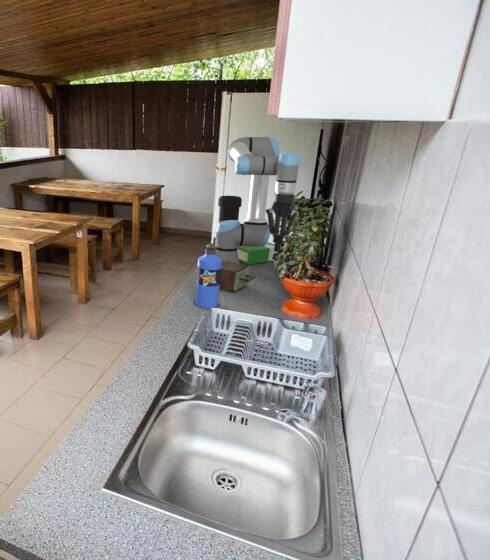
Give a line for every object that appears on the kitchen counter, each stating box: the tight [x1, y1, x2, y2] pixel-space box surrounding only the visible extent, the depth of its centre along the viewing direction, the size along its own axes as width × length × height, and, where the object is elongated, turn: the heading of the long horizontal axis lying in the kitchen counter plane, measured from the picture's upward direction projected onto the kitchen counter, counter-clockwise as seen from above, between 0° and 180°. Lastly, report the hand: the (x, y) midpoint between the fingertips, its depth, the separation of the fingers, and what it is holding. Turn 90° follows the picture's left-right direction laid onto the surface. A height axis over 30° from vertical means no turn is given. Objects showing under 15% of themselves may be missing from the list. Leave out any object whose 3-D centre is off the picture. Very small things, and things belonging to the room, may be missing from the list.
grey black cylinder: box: [212, 195, 243, 245], centre depth 263 cm, size 16×16×30 cm
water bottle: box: [194, 243, 222, 309], centre depth 170 cm, size 9×9×25 cm
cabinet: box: [219, 260, 249, 293], centre depth 194 cm, size 15×13×10 cm
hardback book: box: [237, 241, 275, 265], centre depth 237 cm, size 18×7×24 cm
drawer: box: [234, 267, 256, 292], centre depth 192 cm, size 18×11×8 cm, turn 49°
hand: (276, 250), depth 175 cm, fingers closed
